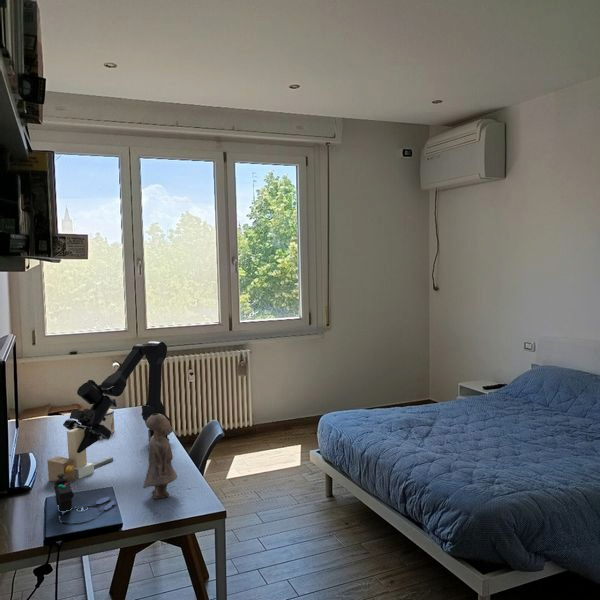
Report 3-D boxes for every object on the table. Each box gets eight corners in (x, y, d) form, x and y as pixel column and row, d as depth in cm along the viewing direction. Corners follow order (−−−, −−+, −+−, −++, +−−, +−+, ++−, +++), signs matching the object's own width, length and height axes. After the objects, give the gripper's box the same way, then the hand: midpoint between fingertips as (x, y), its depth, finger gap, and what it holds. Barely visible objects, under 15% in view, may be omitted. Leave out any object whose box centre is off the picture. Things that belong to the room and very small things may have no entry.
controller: (69, 502, 165) (67, 470, 164) (77, 518, 154) (74, 483, 154) (53, 506, 163) (51, 473, 162) (60, 522, 152) (58, 487, 152)
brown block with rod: (103, 458, 202) (102, 439, 202) (120, 462, 198) (118, 442, 198) (48, 480, 183) (47, 460, 182) (65, 485, 179) (64, 464, 178)
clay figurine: (182, 499, 164) (178, 416, 162) (148, 507, 160) (143, 422, 158) (172, 484, 176) (168, 407, 174) (140, 491, 171) (135, 412, 170)
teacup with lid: (117, 433, 233) (115, 406, 232) (94, 437, 229) (92, 409, 228) (111, 426, 243) (109, 400, 243) (89, 430, 239) (87, 403, 238)
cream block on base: (78, 468, 193) (75, 426, 192) (93, 472, 189) (91, 429, 188) (63, 474, 188) (60, 431, 187) (79, 478, 184) (76, 434, 183)
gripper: (65, 396, 195) (39, 436, 186) (102, 401, 185) (76, 444, 177) (85, 413, 202) (61, 452, 193) (121, 418, 193) (98, 460, 184)
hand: (73, 451), depth 187 cm, fingers closed on cream block on base, 4 cm apart
